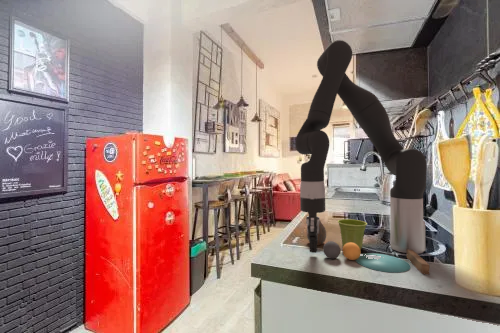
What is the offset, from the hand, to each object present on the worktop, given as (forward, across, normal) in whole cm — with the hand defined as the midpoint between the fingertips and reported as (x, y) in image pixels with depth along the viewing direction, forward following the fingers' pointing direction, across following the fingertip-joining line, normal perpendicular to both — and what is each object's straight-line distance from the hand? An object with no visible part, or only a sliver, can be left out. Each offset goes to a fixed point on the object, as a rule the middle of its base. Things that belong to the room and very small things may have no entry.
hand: (313, 251), depth 77 cm
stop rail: (+2, 0, +28) cm, 28 cm away
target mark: (+1, 0, +19) cm, 19 cm away
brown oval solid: (+2, -14, +1) cm, 14 cm away
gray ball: (-1, 0, +5) cm, 6 cm away
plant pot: (+2, -12, +12) cm, 17 cm away
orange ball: (-1, 0, +11) cm, 11 cm away
